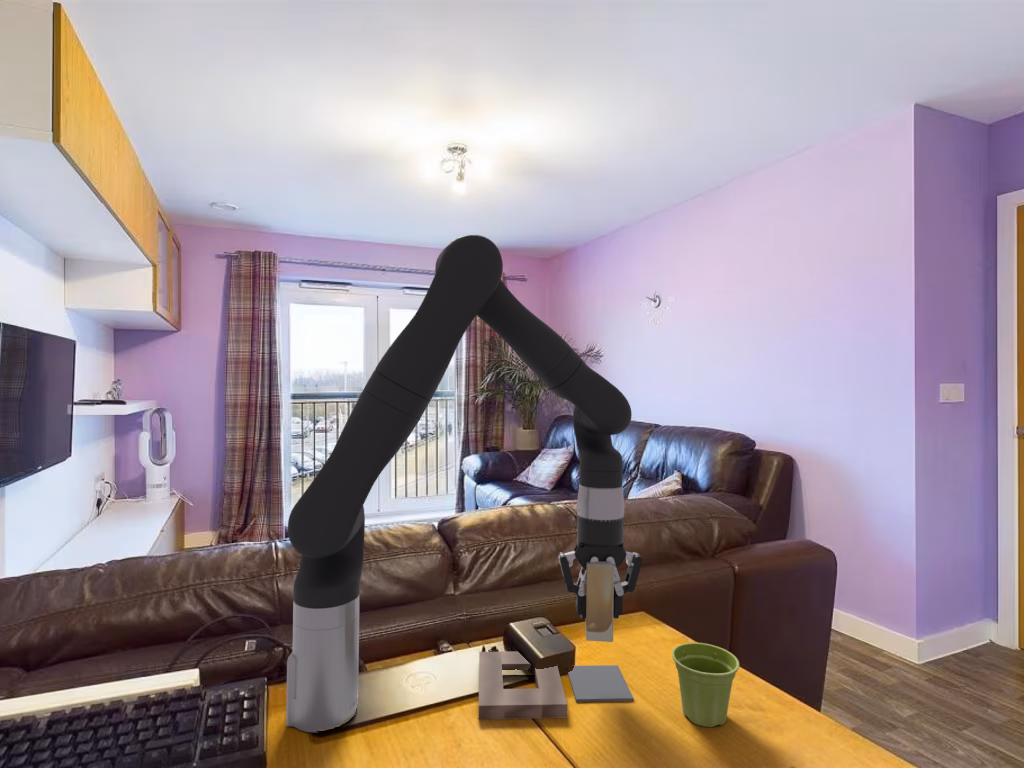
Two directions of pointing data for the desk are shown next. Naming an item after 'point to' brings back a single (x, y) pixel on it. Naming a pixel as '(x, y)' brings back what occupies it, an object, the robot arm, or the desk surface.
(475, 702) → the desk surface
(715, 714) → the plant pot
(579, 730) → the desk surface
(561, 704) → the puzzle board
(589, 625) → the skincare box
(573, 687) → the mat
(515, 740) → the desk surface
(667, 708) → the desk surface
